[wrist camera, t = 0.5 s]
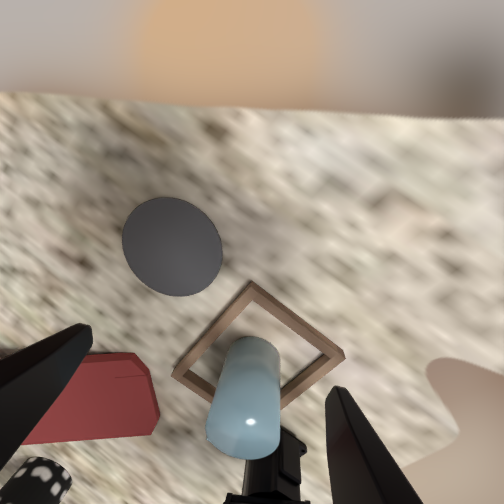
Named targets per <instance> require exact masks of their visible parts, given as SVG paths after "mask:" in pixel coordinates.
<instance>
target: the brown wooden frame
mask: <svg viewBox="0 0 504 504" xmlns="http://www.w3.org/2000/svg"><path fill="white" fill-rule="evenodd" d="M252 300H253V301H255V302H256V303H257V304H259V305H260V306H261V307H263V308H264V309H265V310H267V311H268V312H269V313H271V314H272V315H273V316H275V317H276V318H277V319H279V320H280V321H281V322H283V323H284V324H285V325H287V326H288V327H289V328H291V329H292V330H293V331H295V332H296V333H297V334H299V335H300V336H301V337H303V338H304V339H305V340H307V341H308V342H309V343H311V344H312V345H313V346H314V347H316V348H317V349H318V350H320V351H321V352H322V353H324V355H323V356H321V357H320V358H319V359H318V360H317V361H315V362H314V363H313V364H312V365H311V366H309V367H308V368H307V369H306V370H305V371H303V372H302V373H301V374H300V375H299V376H297V377H296V378H295V379H294V380H293V381H291V382H290V383H289V384H288V385H287V386H285V387H284V388H283V389H282V390H281V391H280V410H282V409H283V408H284V407H285V406H287V405H288V404H289V403H290V402H292V401H293V400H294V399H295V398H297V397H298V396H299V395H300V394H302V393H303V392H304V391H306V390H307V389H308V388H309V387H311V386H312V385H313V384H314V383H316V382H317V381H318V380H319V379H321V378H322V377H323V376H325V375H326V374H327V373H328V372H330V371H331V370H332V369H333V368H335V367H336V366H337V365H338V364H340V363H341V362H342V361H344V360H345V359H346V358H345V355H344V352H343V350H342V349H341V348H339V347H338V346H337V345H335V344H334V343H333V342H332V341H330V340H329V339H328V338H326V337H325V336H324V335H322V334H321V333H320V332H318V331H317V330H316V329H314V328H313V327H312V326H311V325H309V324H308V323H307V322H305V321H304V320H303V319H301V318H300V317H299V316H297V315H296V314H295V313H293V312H292V311H291V310H290V309H288V308H287V307H286V306H284V305H283V304H282V303H280V302H279V301H278V300H276V299H275V298H274V297H272V296H271V295H270V294H269V293H267V292H266V291H265V290H263V289H262V288H261V287H259V286H258V285H257V284H255V283H254V282H253V281H252V282H251V283H250V284H249V285H248V286H247V287H246V288H245V289H244V291H243V292H242V293H241V294H240V295H239V296H238V297H237V298H236V300H235V301H234V302H233V303H232V304H231V305H230V306H229V307H228V309H227V310H226V311H225V312H224V313H223V314H222V315H221V317H220V318H219V319H218V320H217V321H216V322H215V323H214V324H213V326H212V327H211V328H210V329H209V330H208V331H207V332H206V333H205V335H204V336H203V337H202V338H201V339H200V340H199V341H198V342H197V344H196V345H195V346H194V347H193V348H192V349H191V350H190V351H189V353H188V354H187V355H186V356H185V357H184V358H183V359H182V360H181V362H180V363H179V364H178V365H177V366H176V367H175V369H174V370H173V372H172V374H171V377H173V378H174V379H176V380H177V381H179V382H180V383H182V384H183V385H185V386H186V387H187V388H189V389H190V390H192V391H193V392H195V393H196V394H198V395H199V396H201V397H202V398H204V399H205V400H207V401H208V402H210V403H211V404H212V401H213V398H214V395H215V391H216V388H215V387H214V386H212V385H211V384H209V383H208V382H206V381H205V380H203V379H202V378H200V377H199V376H198V375H196V374H195V373H193V372H192V371H190V370H189V368H190V367H191V366H192V365H193V364H194V363H195V362H196V360H197V359H198V358H199V357H200V356H201V355H202V354H203V353H204V352H205V351H206V350H207V349H208V347H209V346H210V345H211V344H212V343H213V342H214V341H215V340H216V339H217V338H218V337H219V336H220V334H221V333H222V332H223V331H224V330H225V329H226V328H227V327H228V326H229V325H230V324H231V323H232V321H233V320H234V319H235V318H236V317H237V316H238V315H239V314H240V313H241V312H242V311H243V310H244V308H245V307H246V306H247V305H248V304H249V303H250V302H251V301H252Z"/></svg>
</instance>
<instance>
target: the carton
mask: <svg viewBox="0 0 504 504" xmlns="http://www.w3.org/2000/svg"><path fill="white" fill-rule="evenodd" d="M159 417H160V411H159V407H158V403H157V399H156V395H155V391H154V387H153V383H152V379H151V375H150V371H149V369H148V368H147V366H146V365H145V364H144V363H143V362H142V361H141V360H140V359H139V357H138V356H137V355H136V354H135V353H110V354H96V355H86V356H85V358H84V359H83V361H82V362H81V364H80V365H79V367H78V369H77V370H76V372H75V373H74V375H73V376H72V378H71V379H70V381H69V383H68V384H67V386H66V387H65V388H64V390H63V391H62V393H61V394H60V395H59V397H58V398H57V399H56V400H55V402H54V403H53V404H52V406H51V407H50V408H49V409H48V411H47V412H46V413H45V415H44V416H43V417H42V418H41V420H40V421H39V422H38V424H37V425H36V426H35V427H34V429H33V430H32V431H31V433H30V434H29V435H28V436H27V438H26V439H25V440H24V442H23V443H22V444H21V445H30V444H43V443H55V442H68V441H81V440H94V439H106V438H119V437H132V436H144V435H151V434H152V432H153V430H154V428H155V426H156V424H157V422H158V420H159Z"/></svg>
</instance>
